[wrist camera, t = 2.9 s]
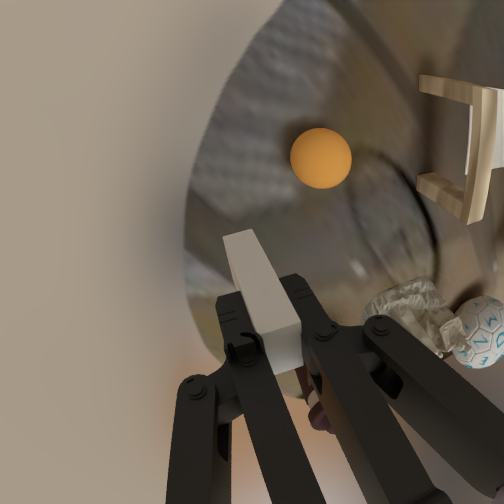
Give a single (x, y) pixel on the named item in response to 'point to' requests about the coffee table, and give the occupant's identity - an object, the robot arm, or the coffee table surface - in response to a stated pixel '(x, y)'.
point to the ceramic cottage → (421, 315)
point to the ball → (320, 158)
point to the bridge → (481, 149)
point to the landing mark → (500, 158)
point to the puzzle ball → (482, 331)
